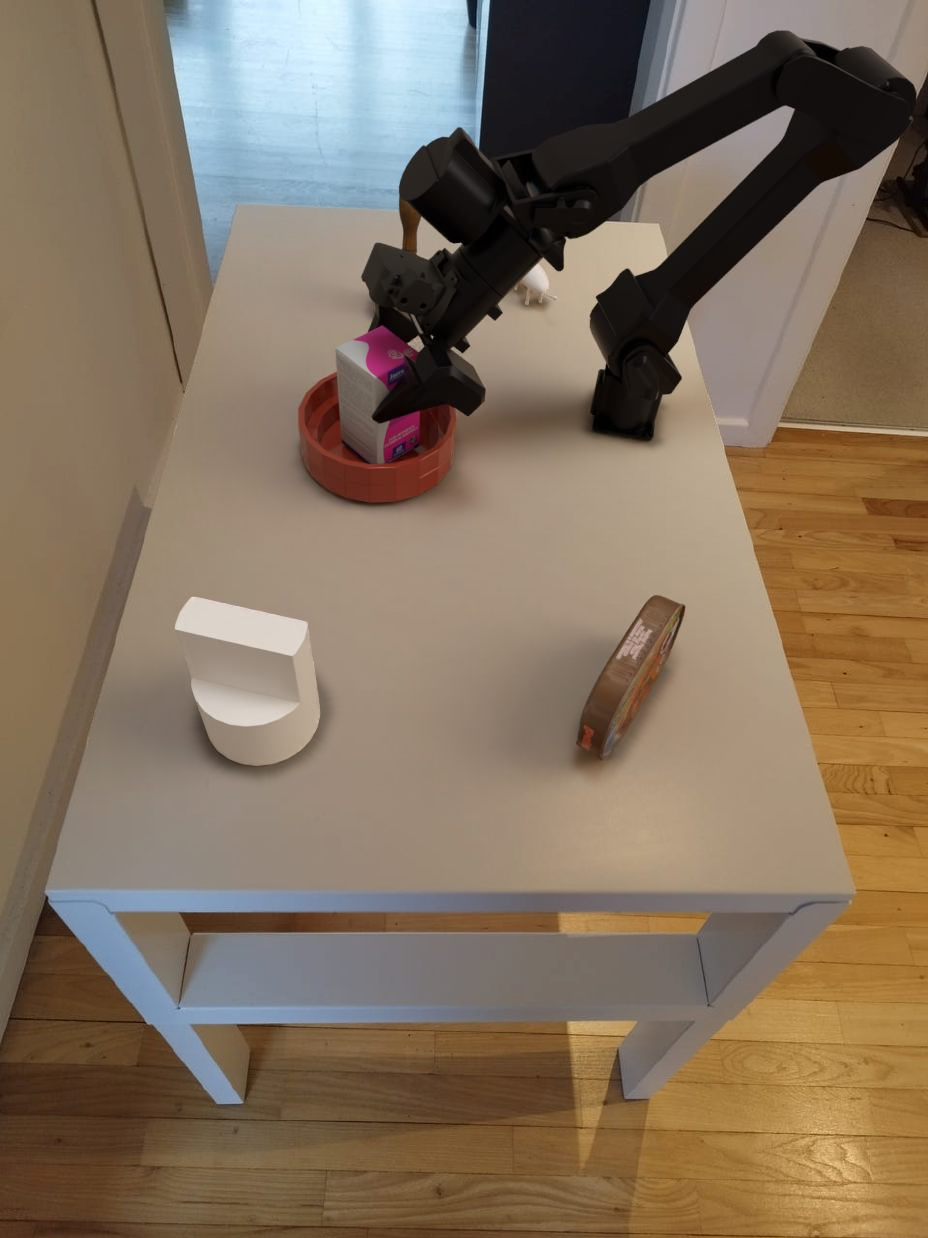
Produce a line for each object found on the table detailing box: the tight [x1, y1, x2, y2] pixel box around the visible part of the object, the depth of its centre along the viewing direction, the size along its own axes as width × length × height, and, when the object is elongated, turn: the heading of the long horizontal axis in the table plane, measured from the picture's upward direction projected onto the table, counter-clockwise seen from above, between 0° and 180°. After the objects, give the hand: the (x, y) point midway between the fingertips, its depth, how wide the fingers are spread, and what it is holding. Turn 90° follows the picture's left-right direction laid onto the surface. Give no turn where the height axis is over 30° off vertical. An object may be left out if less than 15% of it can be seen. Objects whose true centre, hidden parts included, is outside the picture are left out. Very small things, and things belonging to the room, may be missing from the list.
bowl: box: [297, 371, 458, 504], centre depth 87 cm, size 15×15×5 cm
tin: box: [575, 594, 686, 762], centre depth 69 cm, size 15×3×8 cm, turn 148°
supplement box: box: [335, 326, 420, 464], centre depth 84 cm, size 6×6×12 cm
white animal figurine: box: [513, 263, 558, 306], centre depth 105 cm, size 12×5×5 cm, turn 21°
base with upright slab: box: [174, 596, 321, 767], centre depth 65 cm, size 9×9×12 cm
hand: (364, 395), depth 83 cm, fingers closed on supplement box, 7 cm apart
